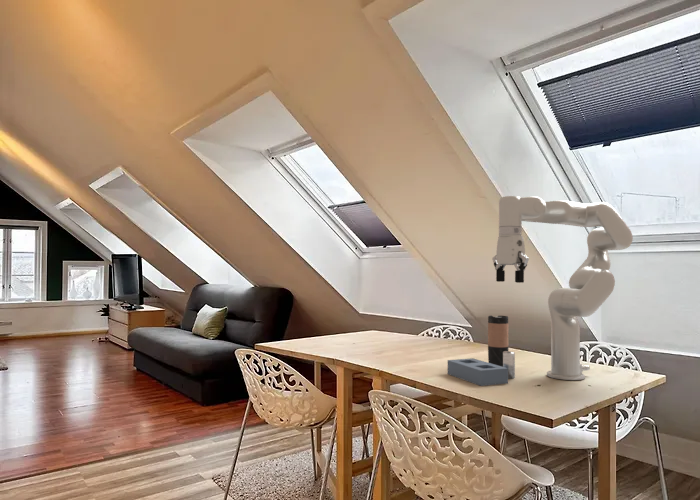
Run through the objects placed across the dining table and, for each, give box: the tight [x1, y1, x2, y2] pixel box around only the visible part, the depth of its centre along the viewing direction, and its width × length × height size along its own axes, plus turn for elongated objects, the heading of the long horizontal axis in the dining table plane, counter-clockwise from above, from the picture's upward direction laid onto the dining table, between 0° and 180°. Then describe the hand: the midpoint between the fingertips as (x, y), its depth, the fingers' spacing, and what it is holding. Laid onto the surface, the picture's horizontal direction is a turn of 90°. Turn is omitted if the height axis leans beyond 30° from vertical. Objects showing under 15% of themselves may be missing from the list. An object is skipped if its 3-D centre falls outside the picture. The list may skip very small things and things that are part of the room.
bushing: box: [503, 350, 516, 380], centre depth 187 cm, size 4×4×9 cm
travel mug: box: [487, 315, 510, 367], centre depth 203 cm, size 8×8×20 cm
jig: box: [447, 357, 509, 387], centre depth 185 cm, size 11×20×5 cm, turn 22°
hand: (509, 282), depth 181 cm, fingers open, 9 cm apart
